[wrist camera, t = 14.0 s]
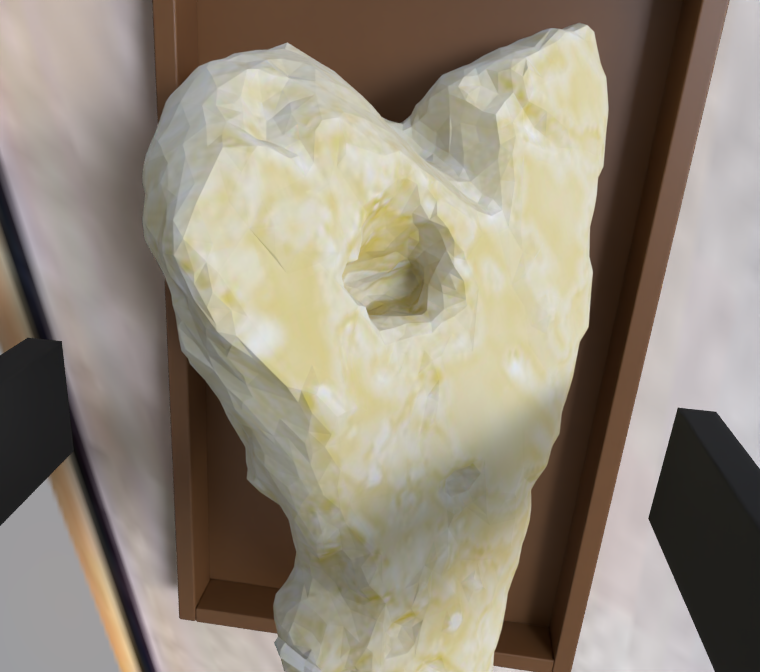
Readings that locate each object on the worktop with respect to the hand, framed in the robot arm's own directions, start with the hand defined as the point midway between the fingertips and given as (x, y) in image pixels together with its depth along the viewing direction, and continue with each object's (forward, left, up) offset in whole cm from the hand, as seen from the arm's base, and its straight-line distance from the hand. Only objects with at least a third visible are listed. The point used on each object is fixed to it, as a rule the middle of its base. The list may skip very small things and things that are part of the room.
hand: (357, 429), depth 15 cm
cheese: (+2, 0, -6) cm, 6 cm away
